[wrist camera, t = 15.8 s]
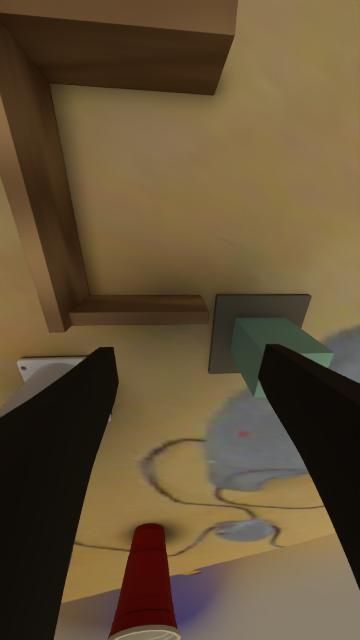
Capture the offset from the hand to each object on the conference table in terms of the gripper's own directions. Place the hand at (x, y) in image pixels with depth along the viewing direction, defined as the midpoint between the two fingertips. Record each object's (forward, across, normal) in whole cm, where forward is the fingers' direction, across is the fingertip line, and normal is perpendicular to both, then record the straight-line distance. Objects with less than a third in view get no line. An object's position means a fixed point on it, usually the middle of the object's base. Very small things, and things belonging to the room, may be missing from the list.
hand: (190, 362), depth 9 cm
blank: (+9, -8, +4) cm, 13 cm away
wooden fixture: (+9, +4, -7) cm, 12 cm away
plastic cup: (+10, +5, +48) cm, 49 cm away
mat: (+9, -8, +4) cm, 13 cm away
